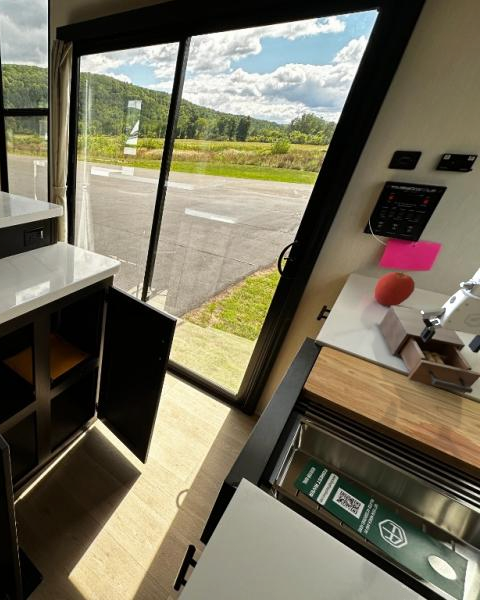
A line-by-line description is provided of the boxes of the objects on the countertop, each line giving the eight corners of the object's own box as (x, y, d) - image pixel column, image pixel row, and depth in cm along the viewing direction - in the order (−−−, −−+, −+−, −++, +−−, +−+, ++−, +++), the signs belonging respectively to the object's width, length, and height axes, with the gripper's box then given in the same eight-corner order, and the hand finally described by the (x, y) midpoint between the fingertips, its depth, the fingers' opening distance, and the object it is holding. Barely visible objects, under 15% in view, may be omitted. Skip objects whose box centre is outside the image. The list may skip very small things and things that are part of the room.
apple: (373, 308, 119) (392, 276, 111) (363, 295, 127) (380, 263, 119) (407, 313, 116) (429, 280, 108) (395, 299, 124) (414, 267, 116)
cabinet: (447, 367, 93) (465, 345, 88) (392, 355, 98) (406, 333, 93) (426, 335, 105) (441, 314, 101) (378, 325, 110) (391, 305, 106)
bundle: (412, 356, 94) (418, 347, 93) (436, 361, 92) (443, 353, 90) (421, 374, 88) (428, 365, 87) (448, 380, 86) (455, 371, 84)
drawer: (473, 406, 80) (490, 388, 77) (414, 391, 85) (428, 373, 81) (441, 357, 95) (455, 339, 92) (393, 346, 100) (404, 329, 96)
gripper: (447, 290, 77) (410, 344, 86) (552, 306, 70) (500, 362, 79) (436, 277, 83) (402, 328, 92) (532, 290, 76) (485, 345, 85)
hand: (447, 344), depth 86 cm, fingers open, 9 cm apart
